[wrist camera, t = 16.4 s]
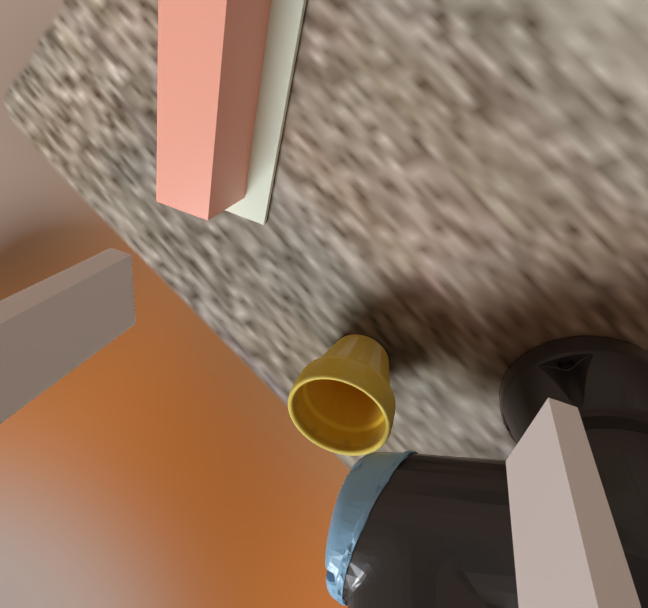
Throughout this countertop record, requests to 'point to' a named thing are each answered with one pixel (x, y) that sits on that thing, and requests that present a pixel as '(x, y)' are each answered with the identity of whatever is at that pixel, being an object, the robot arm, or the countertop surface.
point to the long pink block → (207, 100)
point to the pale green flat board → (271, 106)
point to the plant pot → (345, 398)
